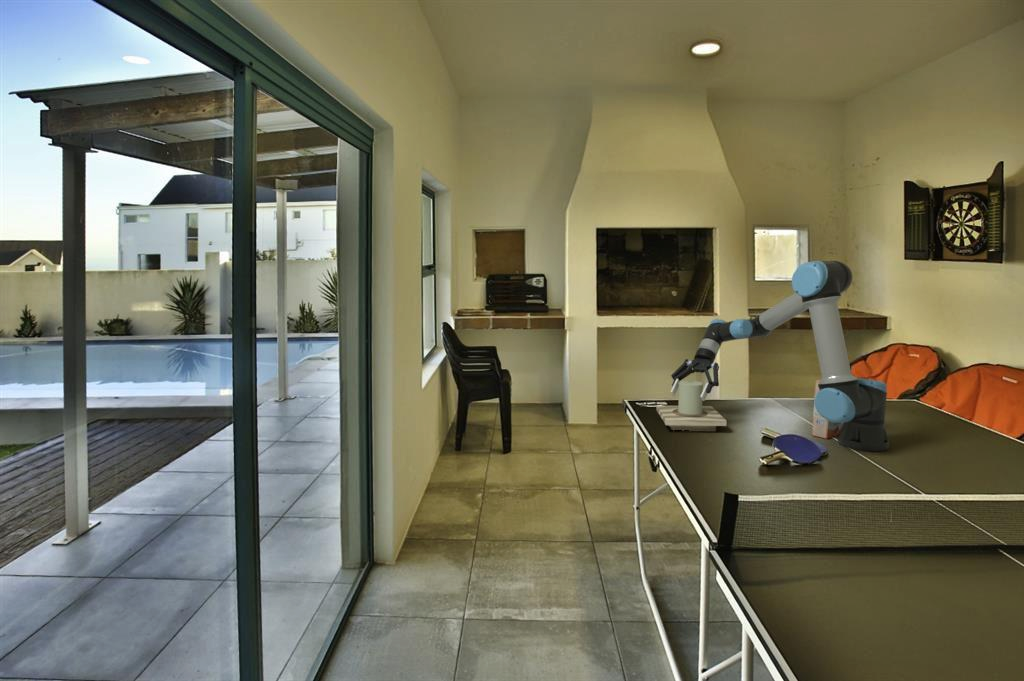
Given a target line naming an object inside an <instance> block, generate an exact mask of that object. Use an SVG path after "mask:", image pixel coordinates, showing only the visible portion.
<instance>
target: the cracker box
mask: <svg viewBox="0 0 1024 681" xmlns="http://www.w3.org/2000/svg"><path fill="white" fill-rule="evenodd" d="M821 379H822V378H820V379H816V380H815V385H814V401H813V415H812V425H811V427H812V428H811V429H812V430H811V436H813V437H817V438H820V439H826V440H828V439H830V438H832V437H835V436H838V435H839V432H840V430H841V428H842V426H843V424H844V422H839V423H835V422H830V421H828V420H826V419H825V418H824V417H822V416H821V415H820V414H819V413H818V411H817V409H816V407H815V396H816V395H817V393H818V392H819V385H818V383H819V381H820V380H821Z"/></svg>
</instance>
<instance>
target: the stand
mask: <svg viewBox="0 0 1024 681" xmlns="http://www.w3.org/2000/svg"><path fill="white" fill-rule="evenodd" d="M656 412H657V413H658V415H659V416H660V418H661V420H662V421H663V423H664V425H665V426H669V428H670V427H671V428H670V430H673V431H672V432H675V431H674V430H682V431H681V432H685V431H684V430H689V431H688V432H717V427H727V419H726V418H725V417H724V416H722V415H721V414H720V413H719V412H718V411H717V410H716V408H714V407H713V406H712V405H702V414H698V415H687V414H682V413H679V412H678V405H656Z"/></svg>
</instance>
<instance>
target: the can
mask: <svg viewBox="0 0 1024 681" xmlns="http://www.w3.org/2000/svg"><path fill="white" fill-rule="evenodd" d="M703 389H704V383H703V382H701V381H695V380H681V381H680V382H679V387H678V405H677V406H678V412H679V413H682V414H687V415H698V414H702V406H703V401H702V399H701V397H700V396H701V394H702V392H703Z"/></svg>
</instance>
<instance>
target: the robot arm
mask: <svg viewBox="0 0 1024 681" xmlns="http://www.w3.org/2000/svg"><path fill="white" fill-rule="evenodd" d="M852 282H853V272H852V269H851V268H850V267H849V266H848V265H847V264H846V263H844V262H842V261H838V260H814V261H813V260H812V261H808V262H804V263H802V264H800V265H799V266H798V267H797V268H796V269H795V271H794V272H793V274H792V277H791V286H792V289H793V293H792V294H791V295H789V296H788V297H786V298H784V299H783V300H781V301H780V302H777V304H774V305H773V306H771V307H770V308H769V309H766V310H765V311H764V312H762V313H760V314H759V315H757V316H756V317H753V318H749V319H747V318H739V319H738V318H737V319H735V320H731V321H725V320H723V319H721V318H714V319H712V320H711V321H710V322H709V324H708V326H707V328H706V330H705V332H704V335H703V337H702V339H701V342H700V344H699V346H698V348H697V350H696V352H695V354H694V358H693V359H692V360H689V359H687V358H686V359H684V360H683V363H682V364H681V365H680V366H679V367H678V368H677V369H676V370H674V372H673V373H672V374H671V375H670V377H671V378H672V380H673V382H672V384H671V390H670V394H671V395H672V396H673V397H675V396H676V394H677V391H679V382H681V381H683V380H684V379H685V378H687V377H688V376H690V375H691V374H694V373H701V374H703V373H704V375H705V377H706V379H707V382H706V383H705V385H704V386H703V392H702V394H701V396H700V397H701V399H702V402H705V401H706V399H707V396H708V394H711V391H712V389H713V388H714V387H719V386H720V382H719V381H720V380H719V369H720V366H719V364H718V362H715V360H716V357H717V355H718V353H719V351H720V348H721V346H722V344H723V343H725V342H729V341H736V340H737V341H738V340H742V339H743V340H745V339H752V338H762V337H763V338H764V337H767V336H769V335H771V333H772V331H773V330H775V329H776V328H778V327H779V326H781V325H783V324H784V323H786V322H788V321H790V320H791V319H793V318H795V317H797V316H799V315H801V314H802V313H804V312H805V311H808V310H809V316H810V322H811V327H812V333H813V338H814V342H815V347H816V353H817V357H818V358H817V359H818V363H819V367H820V374H821V378H820V379H821V380H820V381H819V383H818V385H819V392H818V393H817V395H816V396H815V395H814V397H815V407H816V409H817V411H818V413H819V414H820V415H821V416H822V417H824V418H825V419H826V420H828V421H830V422H835V423H839V422H844V424H843V426H842V428H841V430H840V432H839V435H837V443H838V444H839V445H842V446H844V447H846V448H850V449H853V450H859V451H865V452H883V451H887V450H889V449H890V448H889V446H890V439H889V436H888V434H887V433H888V432H887V430H886V429H887V428H886V426H885V419H886V409H887V408H886V407H887V396H888V385H887V384H886V383H885V382H884V381H882V380H881V381H880V380H876V379H869V378H863V377H856V376H855V375H854V374H852V371H851V366H850V360H849V357H848V351H847V347H846V341H845V336H844V331H843V326H842V321H841V315H840V311H839V307H838V302H839V301H840V299H841V298H842V294H843V293H845V292H846V291H847V290H848V289H849V288H850V287H851V285H852ZM714 362H715V363H714ZM711 368H712V372H713V374H712V375H713V376H712V377H713V380H712V377H711V375H710V371H709V370H710V369H711Z"/></svg>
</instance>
